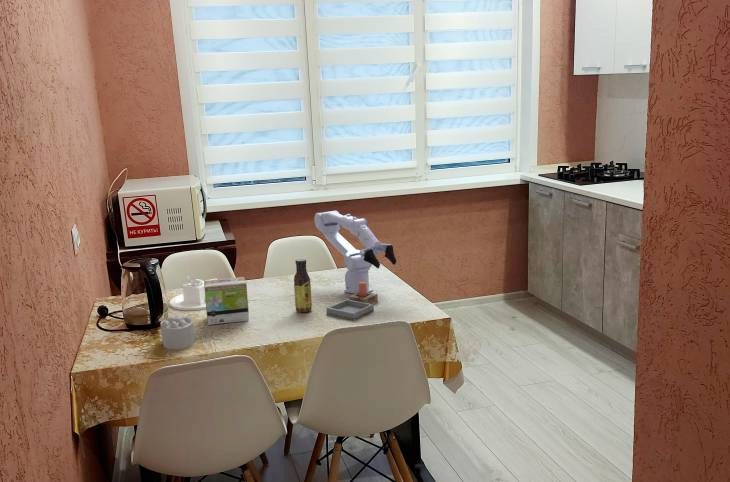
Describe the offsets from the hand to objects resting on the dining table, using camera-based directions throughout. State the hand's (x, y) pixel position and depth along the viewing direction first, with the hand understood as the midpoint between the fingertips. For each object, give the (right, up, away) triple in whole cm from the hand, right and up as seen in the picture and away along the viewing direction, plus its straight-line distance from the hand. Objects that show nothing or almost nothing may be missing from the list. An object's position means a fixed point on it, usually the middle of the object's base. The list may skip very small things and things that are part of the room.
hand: (387, 264), depth 250 cm
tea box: (-59, -20, -7) cm, 63 cm away
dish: (-75, -16, +18) cm, 79 cm away
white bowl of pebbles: (-71, -26, -29) cm, 81 cm away
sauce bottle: (-32, -18, -1) cm, 36 cm away
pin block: (-9, -15, +5) cm, 18 cm away
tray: (-14, -18, -6) cm, 23 cm away
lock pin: (-9, -15, +5) cm, 18 cm away
